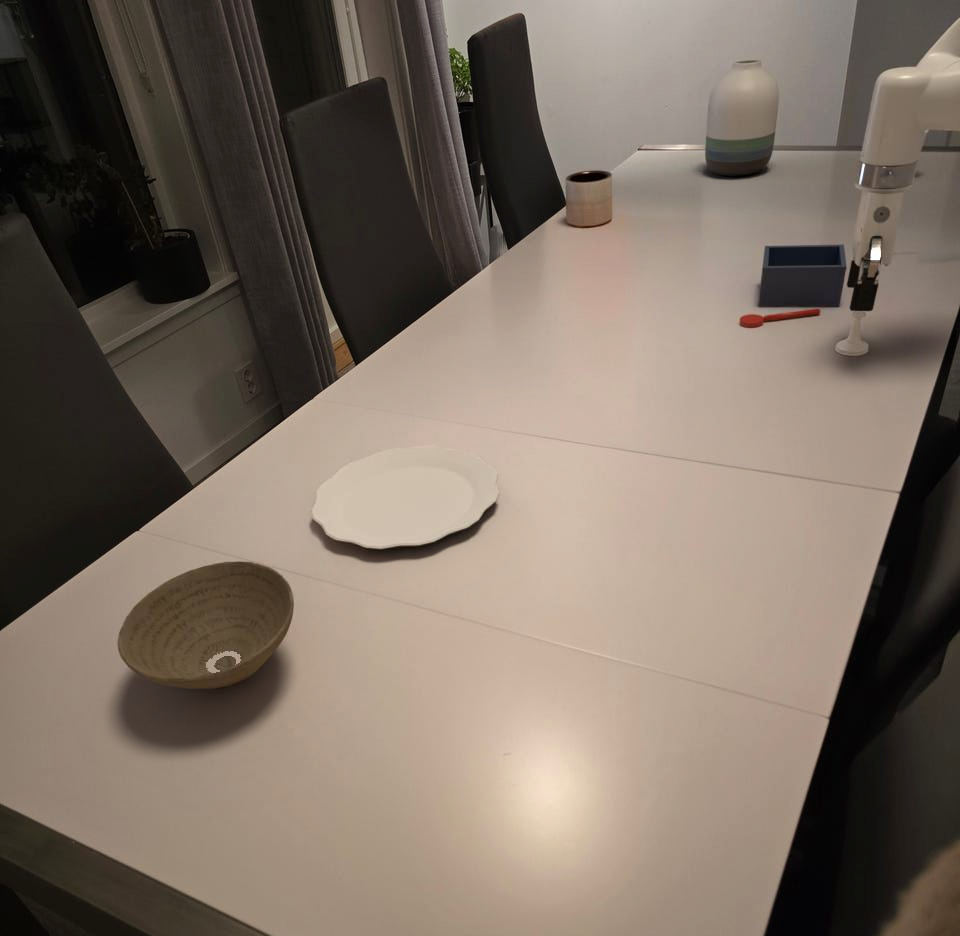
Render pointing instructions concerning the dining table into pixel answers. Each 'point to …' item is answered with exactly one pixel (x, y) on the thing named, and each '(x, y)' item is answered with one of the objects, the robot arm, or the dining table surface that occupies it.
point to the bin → (802, 275)
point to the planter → (589, 198)
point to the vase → (742, 120)
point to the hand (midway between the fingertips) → (859, 298)
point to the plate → (405, 497)
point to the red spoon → (774, 317)
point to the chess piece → (853, 339)
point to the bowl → (208, 625)
